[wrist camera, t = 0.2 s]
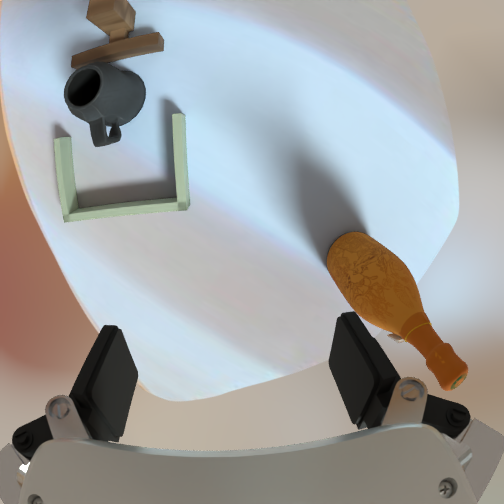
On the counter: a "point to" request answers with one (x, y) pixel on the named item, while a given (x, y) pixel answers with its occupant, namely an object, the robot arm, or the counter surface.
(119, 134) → the mug
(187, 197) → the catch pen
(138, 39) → the wooden cross block
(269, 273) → the counter surface
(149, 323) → the counter surface
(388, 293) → the wine bottle
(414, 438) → the robot arm
